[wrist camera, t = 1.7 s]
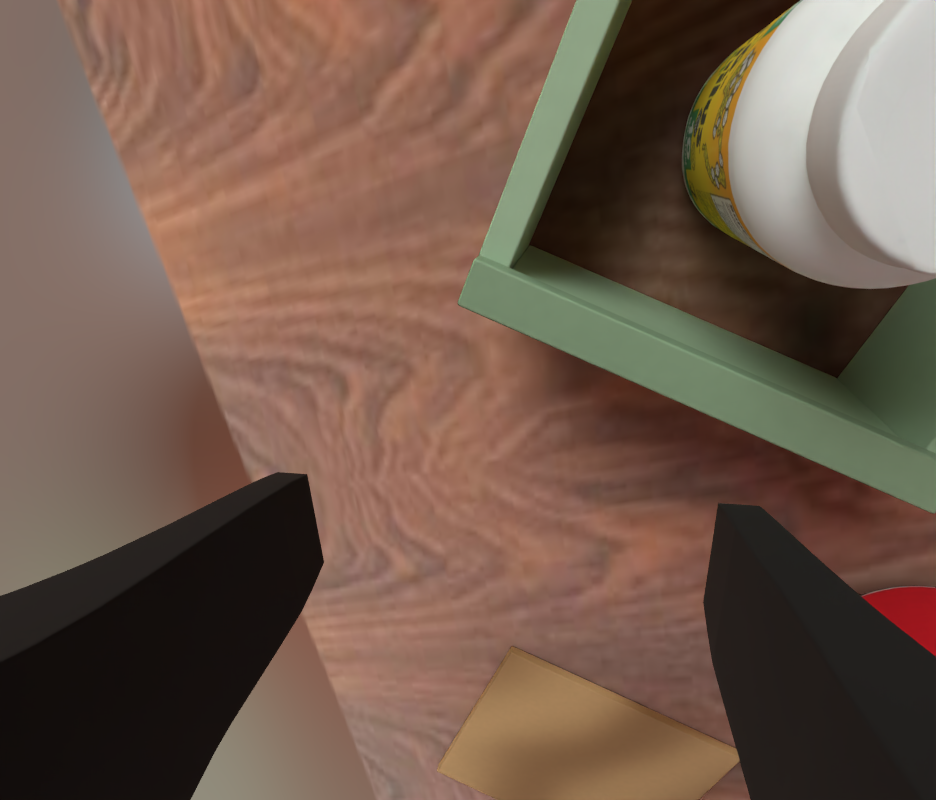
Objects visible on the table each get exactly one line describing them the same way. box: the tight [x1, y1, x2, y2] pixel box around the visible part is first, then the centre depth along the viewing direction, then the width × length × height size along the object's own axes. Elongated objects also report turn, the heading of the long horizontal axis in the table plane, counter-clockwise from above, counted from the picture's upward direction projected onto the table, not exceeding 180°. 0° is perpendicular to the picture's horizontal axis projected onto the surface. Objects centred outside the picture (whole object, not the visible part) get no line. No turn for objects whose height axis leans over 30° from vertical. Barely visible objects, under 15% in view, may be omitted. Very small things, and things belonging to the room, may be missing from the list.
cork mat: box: [437, 646, 740, 800], centre depth 27 cm, size 11×10×1 cm
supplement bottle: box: [682, 0, 936, 289], centre depth 11 cm, size 5×5×10 cm
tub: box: [458, 0, 936, 514], centre depth 13 cm, size 12×12×6 cm
